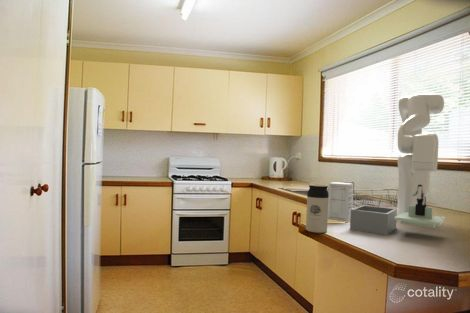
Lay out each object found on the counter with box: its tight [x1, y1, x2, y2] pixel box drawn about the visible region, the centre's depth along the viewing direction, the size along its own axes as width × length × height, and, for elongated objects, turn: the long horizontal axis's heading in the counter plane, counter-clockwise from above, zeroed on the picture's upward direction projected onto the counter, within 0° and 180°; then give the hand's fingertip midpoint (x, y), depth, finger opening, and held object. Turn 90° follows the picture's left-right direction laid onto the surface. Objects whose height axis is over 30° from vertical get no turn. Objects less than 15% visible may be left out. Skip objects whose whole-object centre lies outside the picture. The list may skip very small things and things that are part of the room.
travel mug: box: [305, 182, 329, 234], centre depth 144 cm, size 8×8×18 cm
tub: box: [349, 204, 398, 236], centre depth 154 cm, size 18×14×8 cm
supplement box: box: [327, 181, 354, 222], centre depth 174 cm, size 10×9×17 cm
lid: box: [394, 205, 446, 228], centre depth 144 cm, size 19×15×6 cm
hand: (420, 214), depth 144 cm, fingers closed on lid, 2 cm apart
